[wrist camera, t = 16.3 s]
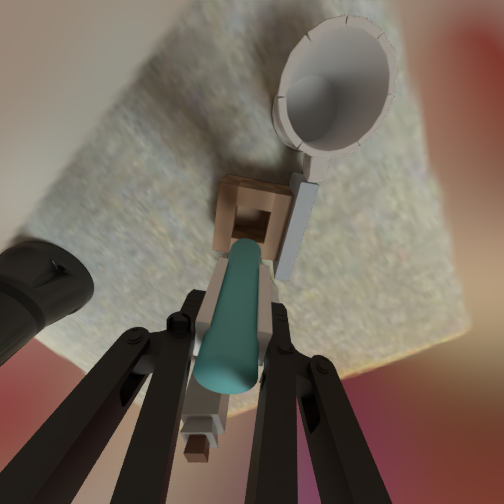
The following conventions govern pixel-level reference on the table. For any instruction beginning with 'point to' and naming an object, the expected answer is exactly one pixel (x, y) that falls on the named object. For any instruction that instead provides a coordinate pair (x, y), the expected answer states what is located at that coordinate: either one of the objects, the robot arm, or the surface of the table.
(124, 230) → the table surface
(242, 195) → the block
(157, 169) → the table surface
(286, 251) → the wall
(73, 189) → the table surface
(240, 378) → the dowel
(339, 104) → the cup
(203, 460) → the perfume bottle
